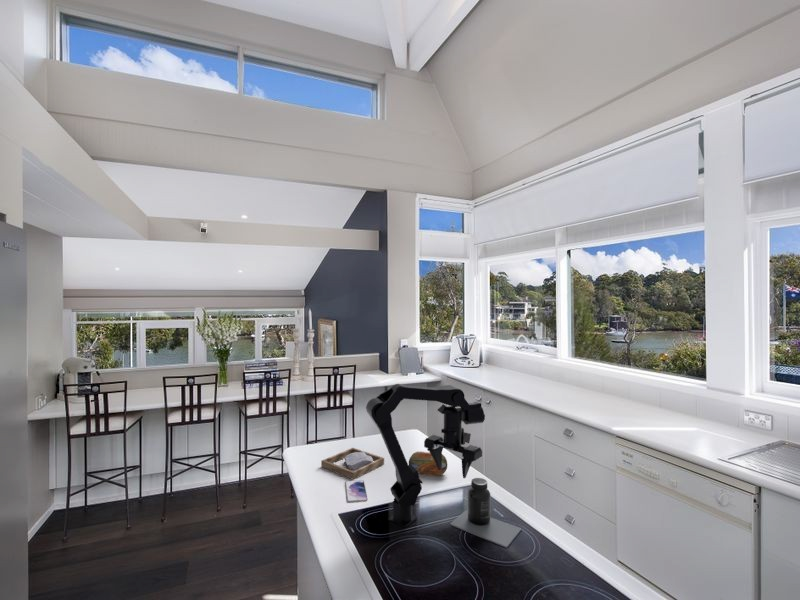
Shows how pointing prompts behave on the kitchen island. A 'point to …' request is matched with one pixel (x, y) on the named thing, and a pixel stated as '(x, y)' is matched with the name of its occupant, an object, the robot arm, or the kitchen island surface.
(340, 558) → the kitchen island surface
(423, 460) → the tin
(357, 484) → the smartphone
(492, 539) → the rubber mat
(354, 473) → the walnut tray frame
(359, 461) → the stone block
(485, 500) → the supplement bottle
